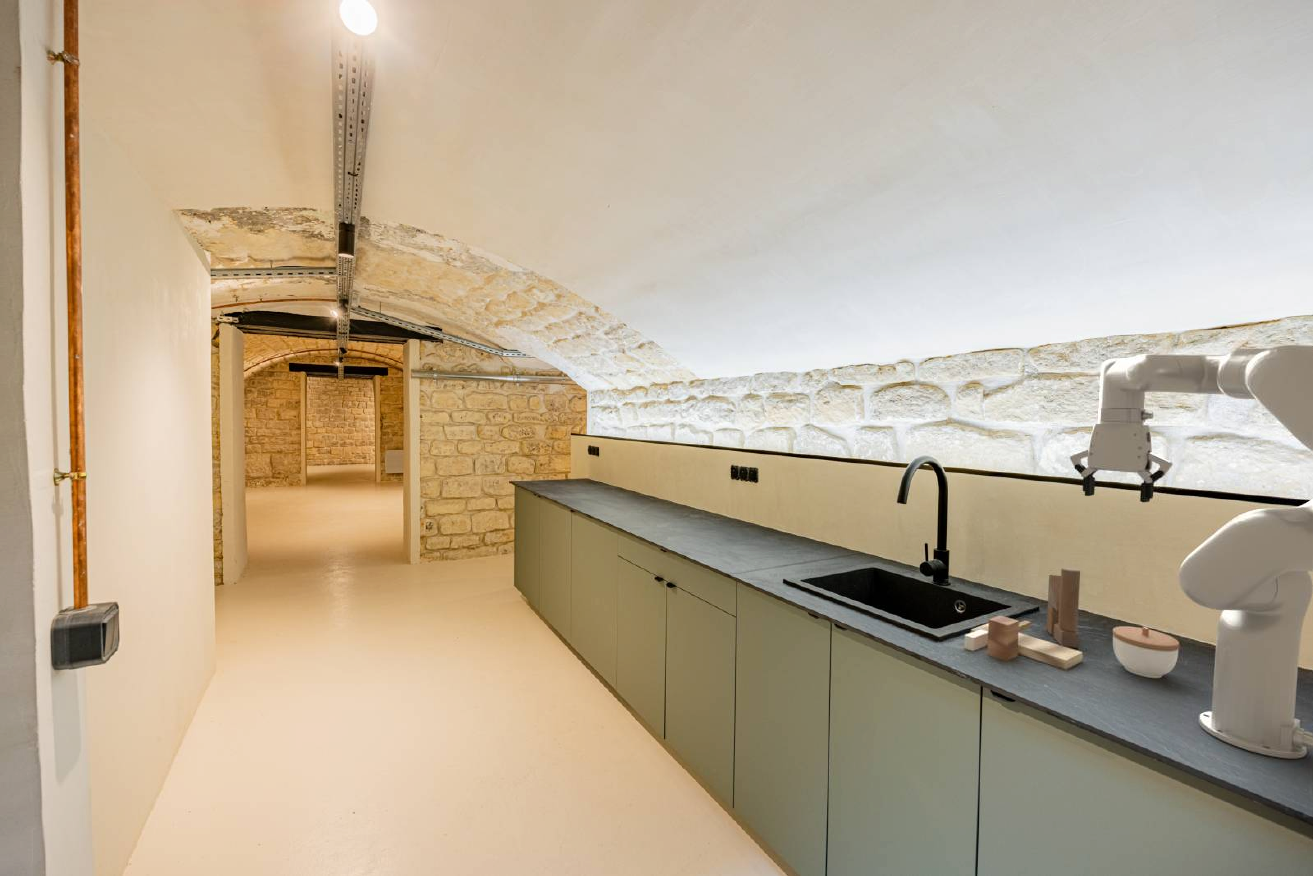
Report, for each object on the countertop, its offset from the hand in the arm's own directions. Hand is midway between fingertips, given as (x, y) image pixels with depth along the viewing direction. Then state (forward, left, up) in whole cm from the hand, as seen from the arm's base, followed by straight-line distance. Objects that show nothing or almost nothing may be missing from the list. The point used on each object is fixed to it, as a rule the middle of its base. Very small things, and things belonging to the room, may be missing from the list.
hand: (1116, 498), depth 121 cm
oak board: (+14, +6, -36) cm, 39 cm away
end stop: (+21, +14, -36) cm, 44 cm away
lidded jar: (-5, -4, -36) cm, 37 cm away
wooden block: (+12, -9, -36) cm, 39 cm away
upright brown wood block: (+15, +9, -36) cm, 40 cm away
